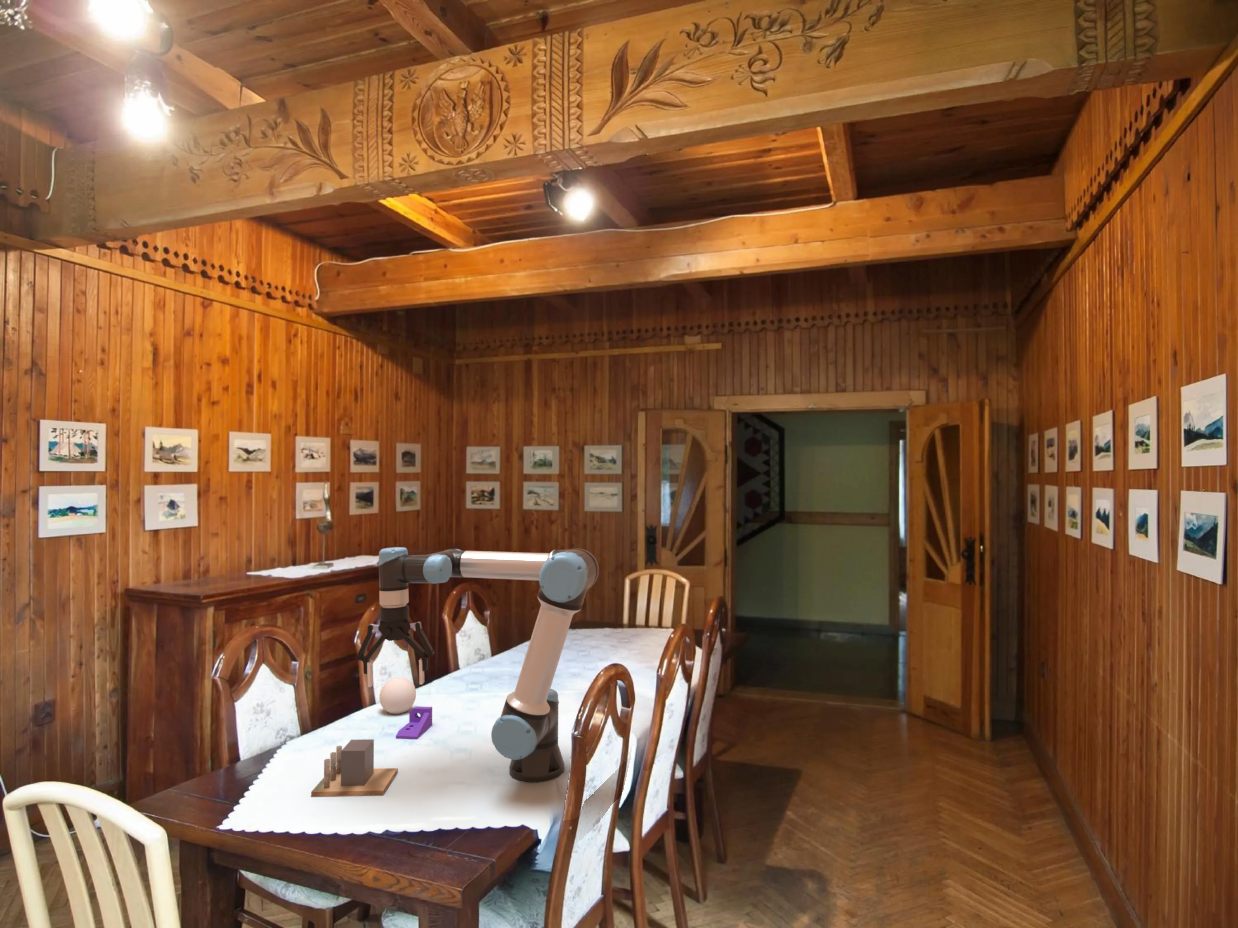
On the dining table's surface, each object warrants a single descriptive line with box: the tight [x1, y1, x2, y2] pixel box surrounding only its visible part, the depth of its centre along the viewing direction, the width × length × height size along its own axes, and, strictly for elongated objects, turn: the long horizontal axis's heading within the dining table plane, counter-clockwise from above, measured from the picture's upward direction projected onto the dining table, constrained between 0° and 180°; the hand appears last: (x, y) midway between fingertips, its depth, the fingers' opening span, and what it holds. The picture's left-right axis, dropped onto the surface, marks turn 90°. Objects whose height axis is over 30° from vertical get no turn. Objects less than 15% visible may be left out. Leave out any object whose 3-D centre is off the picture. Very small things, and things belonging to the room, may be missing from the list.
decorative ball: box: [379, 677, 417, 715], centre depth 246 cm, size 12×12×12 cm
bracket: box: [395, 705, 433, 740], centre depth 227 cm, size 12×7×7 cm, turn 172°
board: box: [310, 745, 399, 798], centre depth 189 cm, size 18×14×8 cm
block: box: [341, 738, 375, 786], centre depth 189 cm, size 6×8×9 cm
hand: (396, 684), depth 193 cm, fingers open, 13 cm apart
